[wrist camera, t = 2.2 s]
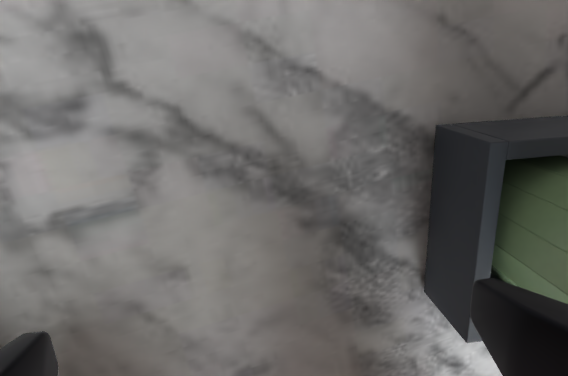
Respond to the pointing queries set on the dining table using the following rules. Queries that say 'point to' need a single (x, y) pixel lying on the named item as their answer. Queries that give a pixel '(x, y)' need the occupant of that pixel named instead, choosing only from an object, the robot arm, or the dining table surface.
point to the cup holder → (475, 203)
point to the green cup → (534, 226)
